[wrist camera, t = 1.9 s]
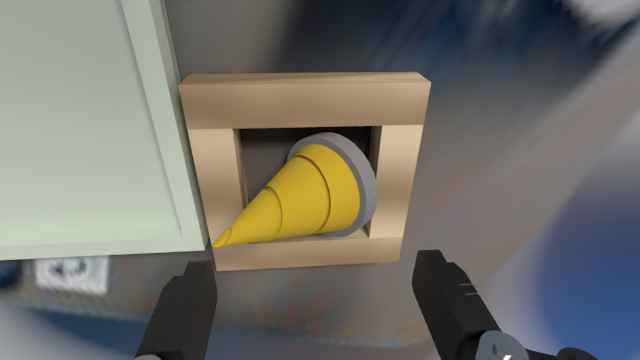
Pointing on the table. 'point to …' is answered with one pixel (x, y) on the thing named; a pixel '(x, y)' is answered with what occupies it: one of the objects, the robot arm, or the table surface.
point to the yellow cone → (310, 194)
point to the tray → (93, 132)
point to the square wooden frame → (305, 111)
